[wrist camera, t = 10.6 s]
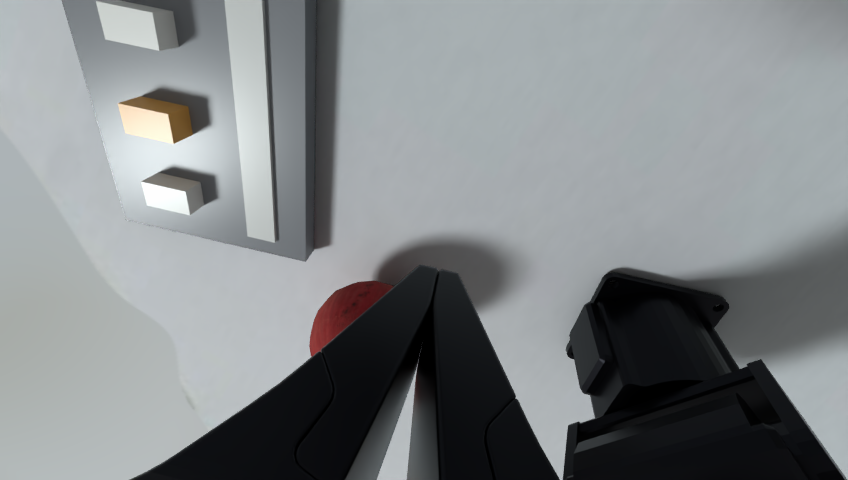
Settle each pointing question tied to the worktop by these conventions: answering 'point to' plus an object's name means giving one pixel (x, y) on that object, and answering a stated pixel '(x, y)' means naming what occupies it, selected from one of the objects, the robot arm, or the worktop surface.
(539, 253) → the worktop surface
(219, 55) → the panel
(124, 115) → the block
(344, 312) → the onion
